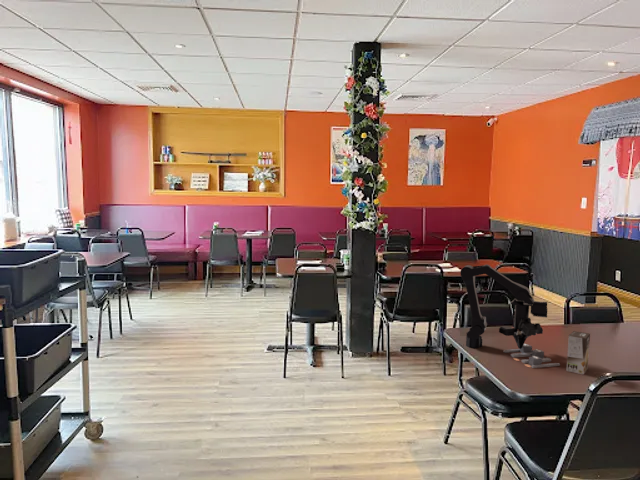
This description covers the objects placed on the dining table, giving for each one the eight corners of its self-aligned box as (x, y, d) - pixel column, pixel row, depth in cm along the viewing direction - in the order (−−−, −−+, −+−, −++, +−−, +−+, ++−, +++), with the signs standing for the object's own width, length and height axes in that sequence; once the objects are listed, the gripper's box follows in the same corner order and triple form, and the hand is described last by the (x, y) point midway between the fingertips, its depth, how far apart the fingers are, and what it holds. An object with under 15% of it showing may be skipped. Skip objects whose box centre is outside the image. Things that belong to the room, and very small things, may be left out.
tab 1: (524, 353, 208) (524, 345, 208) (520, 351, 211) (520, 343, 210) (531, 353, 209) (532, 345, 209) (527, 351, 212) (528, 343, 211)
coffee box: (583, 377, 184) (586, 338, 183) (565, 373, 188) (568, 335, 187) (587, 371, 191) (590, 333, 190) (570, 367, 195) (573, 330, 194)
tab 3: (533, 366, 192) (533, 358, 192) (528, 364, 195) (529, 356, 194) (541, 366, 193) (541, 357, 192) (536, 363, 196) (537, 355, 195)
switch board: (529, 371, 190) (529, 366, 190) (500, 354, 210) (500, 350, 210) (562, 368, 194) (563, 363, 194) (531, 352, 213) (531, 348, 213)
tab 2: (535, 359, 201) (536, 351, 200) (531, 357, 203) (531, 349, 203) (543, 358, 202) (544, 350, 201) (539, 356, 204) (539, 348, 204)
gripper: (514, 320, 198) (512, 356, 199) (552, 318, 202) (550, 353, 203) (499, 313, 208) (497, 347, 210) (535, 312, 212) (533, 345, 214)
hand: (519, 348), depth 209 cm, fingers closed
